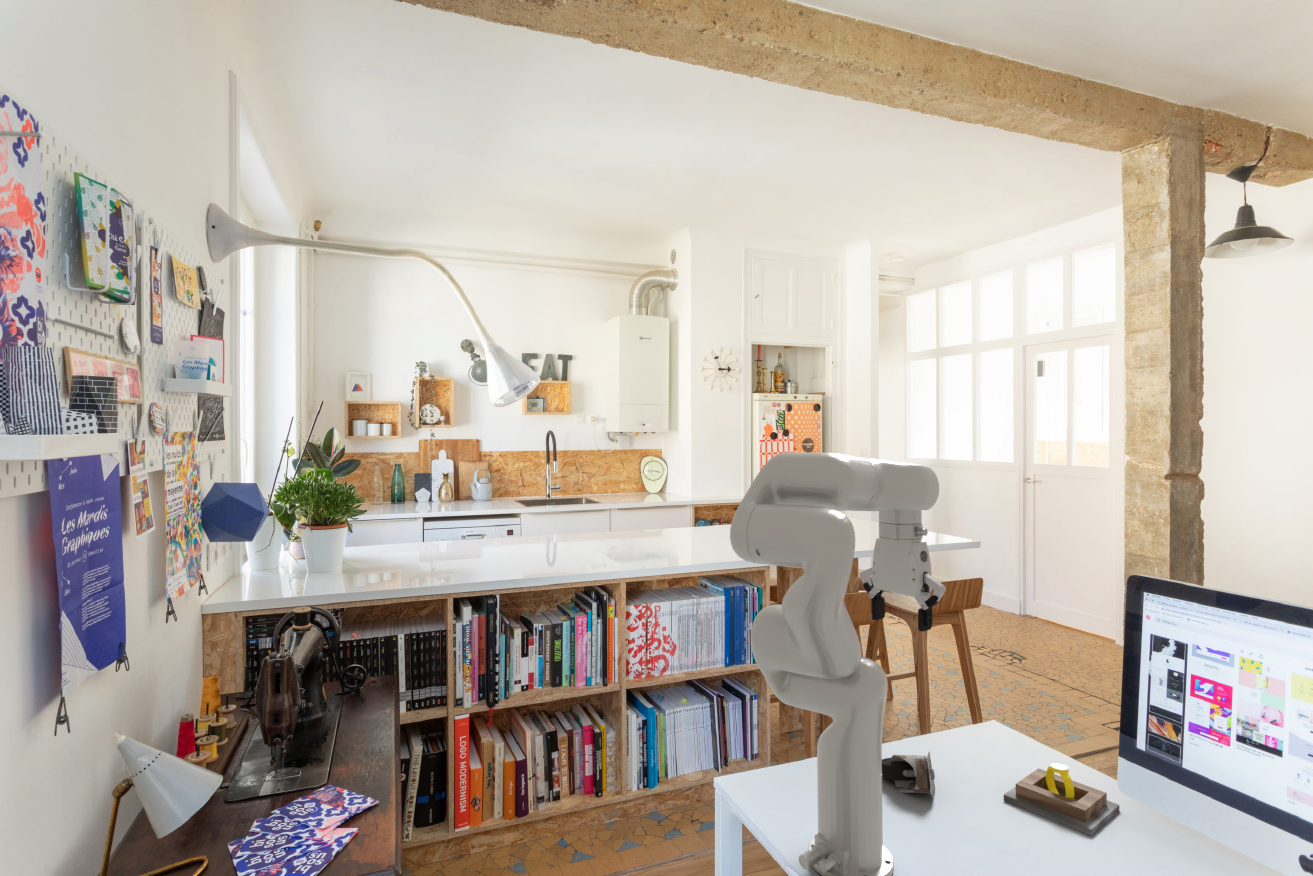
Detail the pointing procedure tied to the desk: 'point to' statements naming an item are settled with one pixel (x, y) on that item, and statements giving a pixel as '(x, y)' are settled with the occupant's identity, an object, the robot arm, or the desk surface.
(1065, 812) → the frame
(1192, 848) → the desk surface
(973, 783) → the desk surface
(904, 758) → the caster wheel
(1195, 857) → the desk surface
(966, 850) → the desk surface
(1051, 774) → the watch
